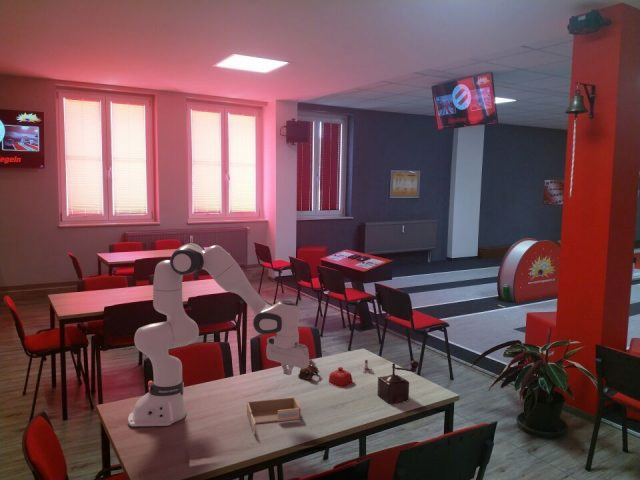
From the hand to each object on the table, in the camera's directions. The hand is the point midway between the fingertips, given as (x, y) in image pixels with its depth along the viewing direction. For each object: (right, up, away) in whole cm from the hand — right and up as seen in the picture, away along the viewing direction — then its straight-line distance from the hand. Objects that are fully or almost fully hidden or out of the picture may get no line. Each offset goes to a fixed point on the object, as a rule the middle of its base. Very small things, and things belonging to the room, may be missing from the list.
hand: (287, 374), depth 201 cm
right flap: (+1, -17, -4) cm, 17 cm away
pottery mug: (+6, -15, +40) cm, 44 cm away
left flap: (-13, -18, -12) cm, 25 cm away
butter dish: (+23, -15, +37) cm, 46 cm away
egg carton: (+9, -13, +57) cm, 59 cm away
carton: (-6, -17, +1) cm, 18 cm away
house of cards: (+39, -14, +50) cm, 64 cm away
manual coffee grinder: (+48, -17, +20) cm, 55 cm away
